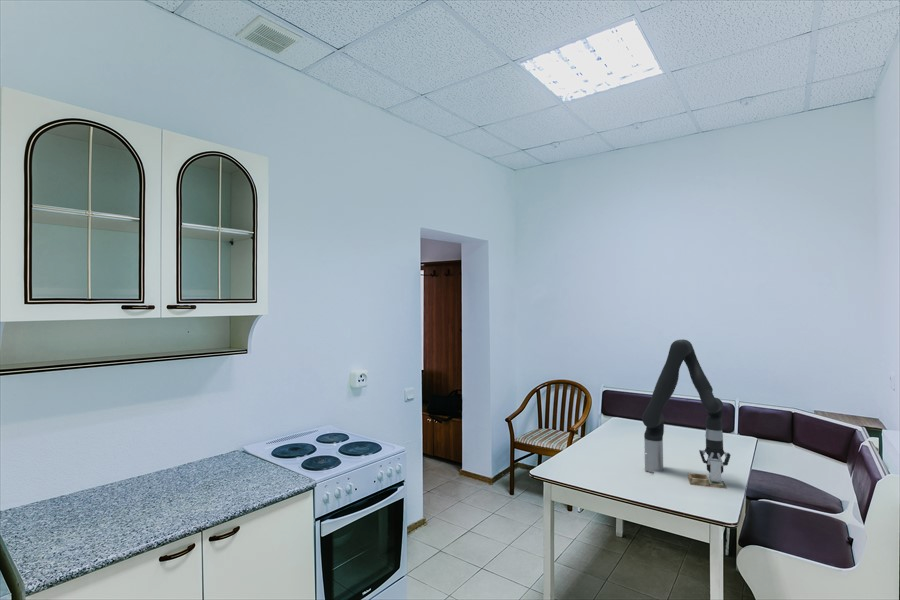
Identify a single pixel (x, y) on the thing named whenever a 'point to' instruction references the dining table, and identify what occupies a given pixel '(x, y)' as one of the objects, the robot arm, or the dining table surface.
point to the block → (715, 470)
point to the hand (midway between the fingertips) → (715, 472)
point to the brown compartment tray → (704, 481)
